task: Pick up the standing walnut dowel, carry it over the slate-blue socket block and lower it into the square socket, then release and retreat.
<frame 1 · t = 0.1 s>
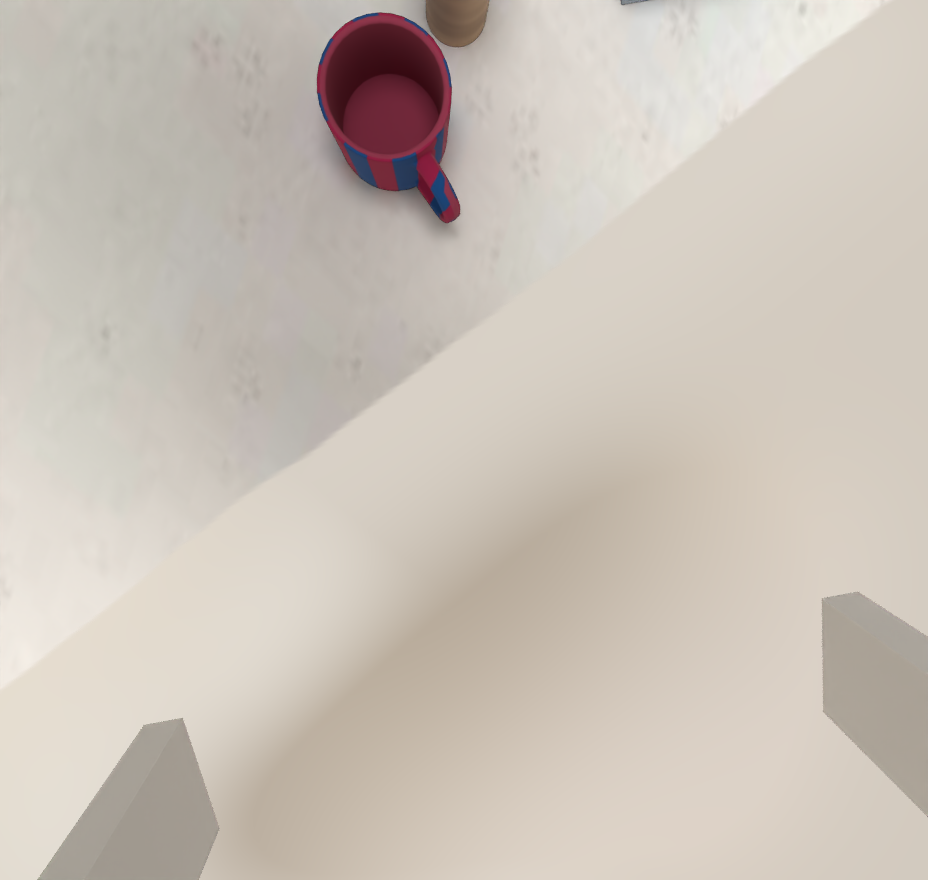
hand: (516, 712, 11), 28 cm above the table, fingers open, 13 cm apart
cup: (405, 160, 34), on the table
dowel: (456, 12, 33), on the table
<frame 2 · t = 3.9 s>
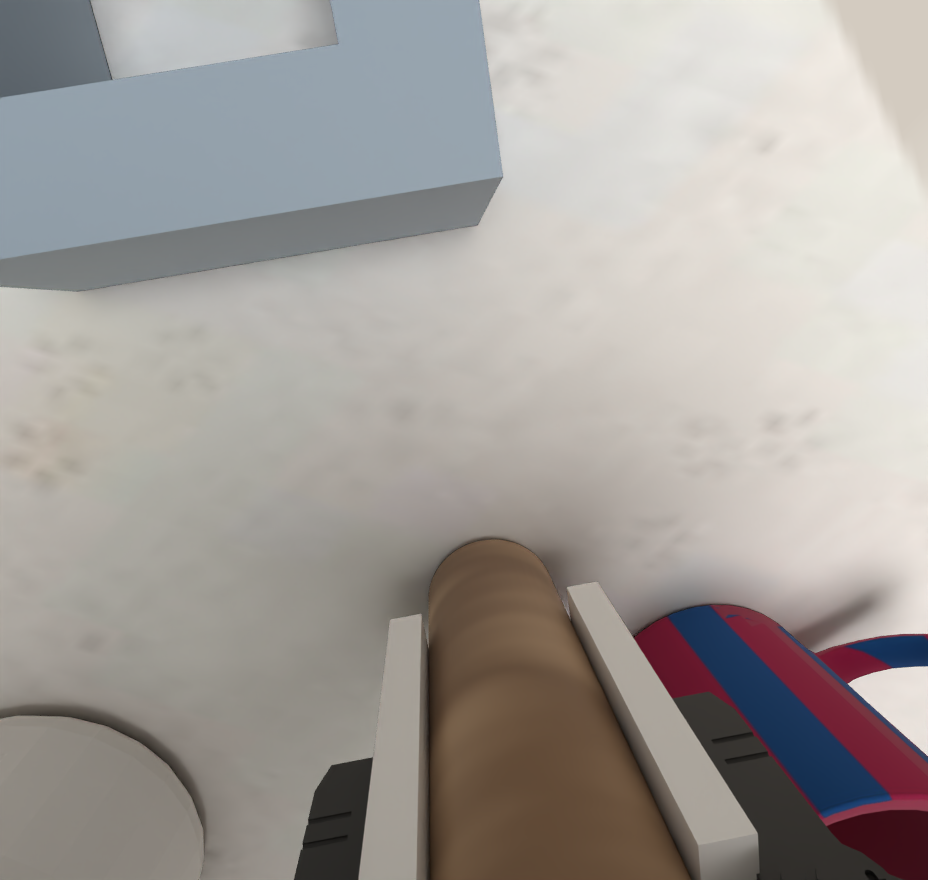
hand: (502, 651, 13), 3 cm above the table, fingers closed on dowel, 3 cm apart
mug: (27, 845, 17), on the table
cup: (746, 672, 17), on the table
dowel: (490, 597, 16), on the table, touching gripper
socket block: (226, 29, 12), on the table
when the fingers open (7 cm above the table, at t = 7.2 s): dowel drops 4 cm, resting in socket block.
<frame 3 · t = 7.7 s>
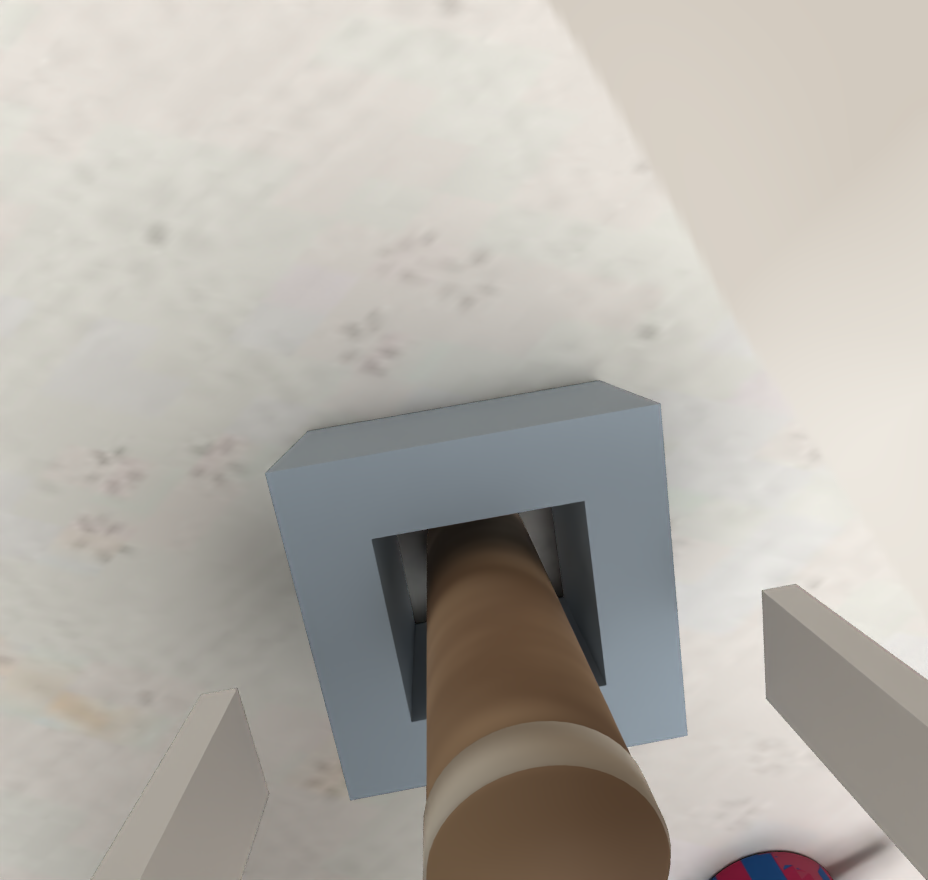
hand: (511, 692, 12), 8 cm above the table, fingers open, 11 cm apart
dowel: (476, 542, 20), resting in socket block
socket block: (477, 541, 20), on the table
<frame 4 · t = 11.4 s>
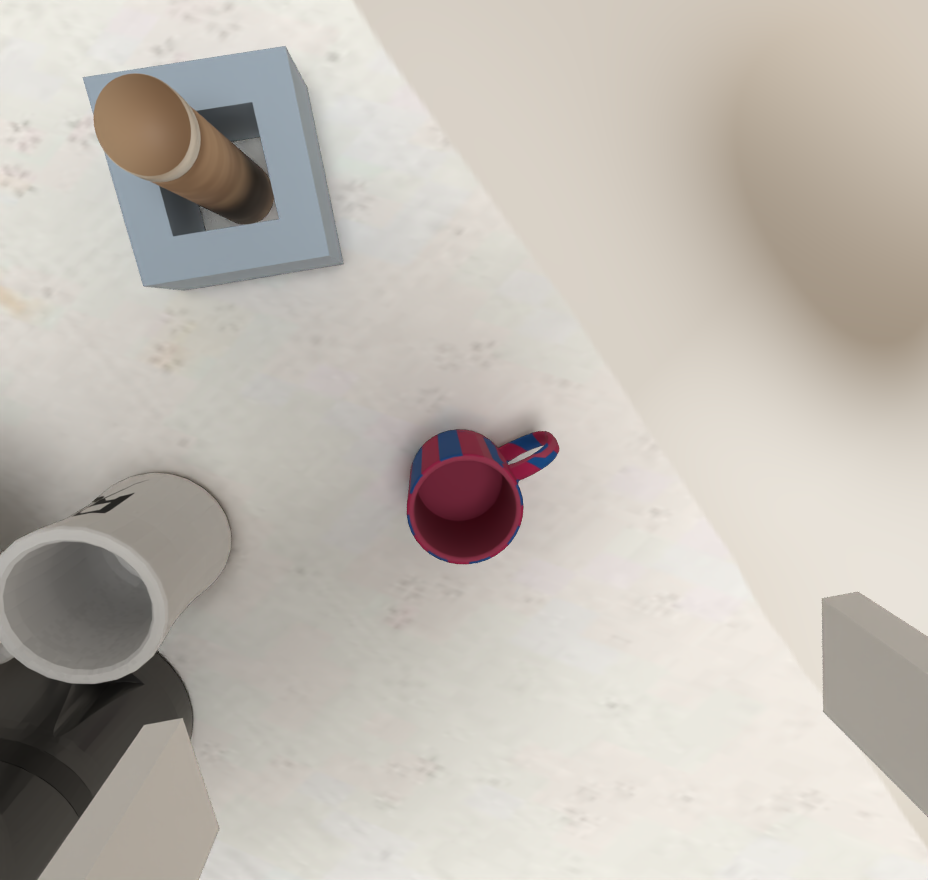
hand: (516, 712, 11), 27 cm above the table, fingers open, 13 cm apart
mug: (149, 544, 38), on the table
cup: (480, 465, 38), on the table
dowel: (243, 192, 33), resting in socket block
socket block: (243, 191, 33), on the table
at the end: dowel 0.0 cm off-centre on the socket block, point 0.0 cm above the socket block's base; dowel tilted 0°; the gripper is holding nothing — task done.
